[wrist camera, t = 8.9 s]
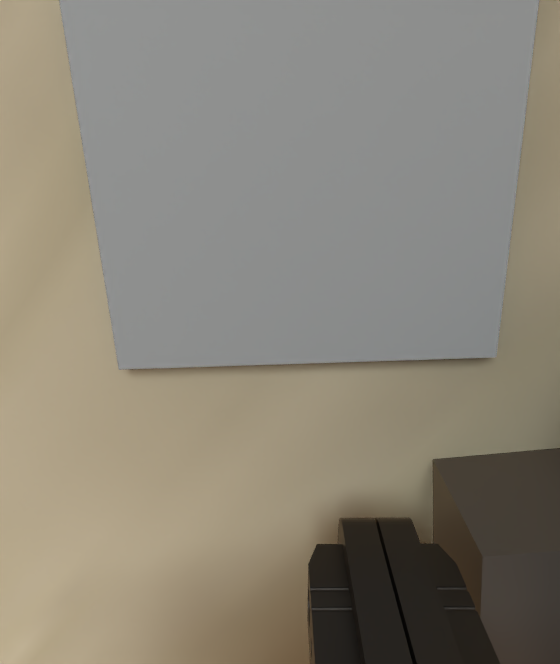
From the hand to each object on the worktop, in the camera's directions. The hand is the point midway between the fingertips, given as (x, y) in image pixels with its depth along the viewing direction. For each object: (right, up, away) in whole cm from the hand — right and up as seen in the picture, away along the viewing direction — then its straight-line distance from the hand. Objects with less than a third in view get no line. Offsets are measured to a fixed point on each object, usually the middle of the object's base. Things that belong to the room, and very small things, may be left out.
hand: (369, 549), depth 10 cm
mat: (-2, +8, -1) cm, 8 cm away
